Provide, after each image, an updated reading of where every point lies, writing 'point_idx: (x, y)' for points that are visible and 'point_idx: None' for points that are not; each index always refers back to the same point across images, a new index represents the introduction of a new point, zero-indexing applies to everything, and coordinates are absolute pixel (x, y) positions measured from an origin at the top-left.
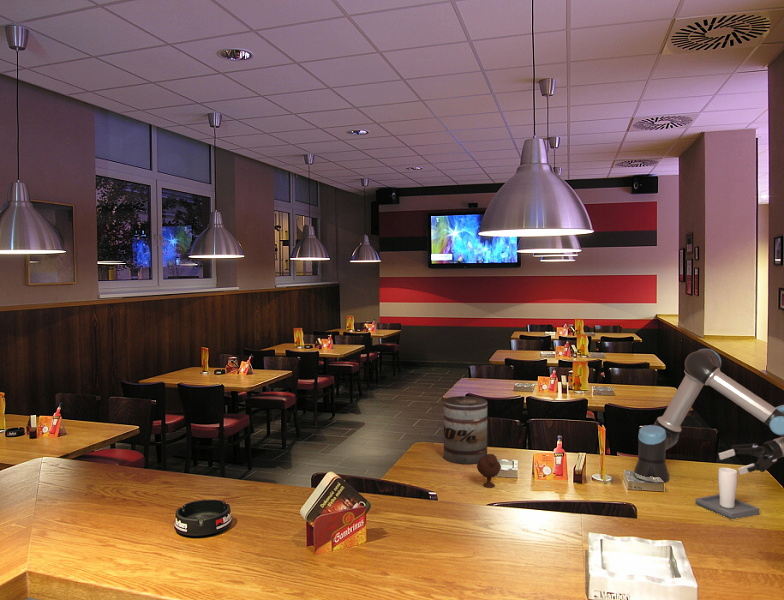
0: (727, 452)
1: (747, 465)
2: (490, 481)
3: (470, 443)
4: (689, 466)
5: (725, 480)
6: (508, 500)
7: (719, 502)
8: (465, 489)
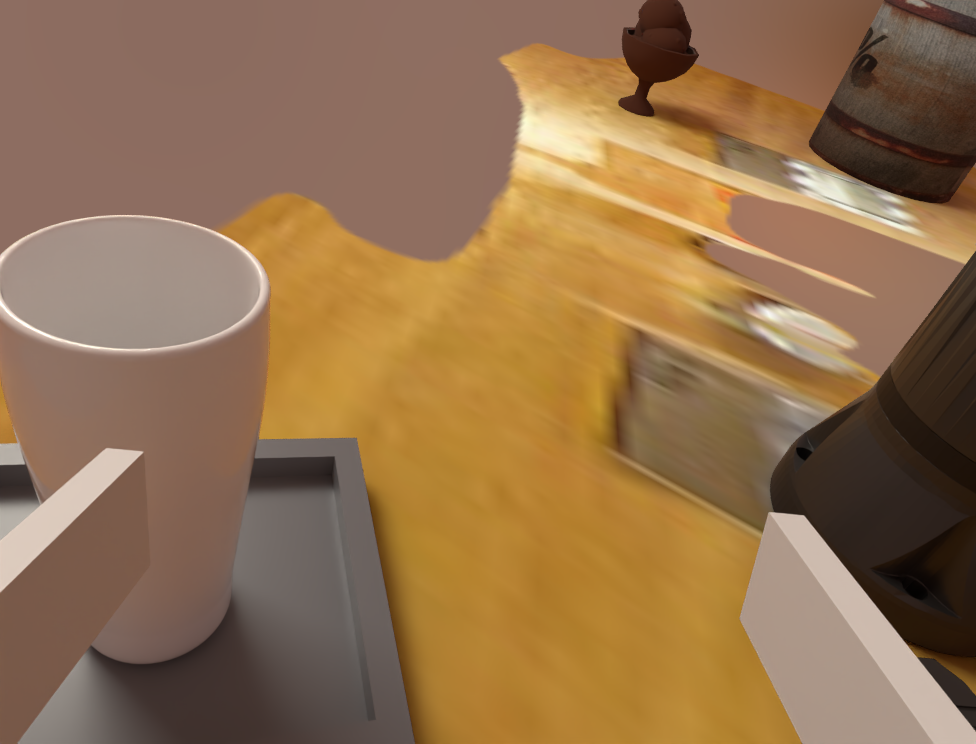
0: (845, 643)
1: (12, 572)
2: (638, 93)
3: (852, 81)
4: None
5: (97, 310)
6: (521, 87)
7: (271, 612)
8: (605, 80)
